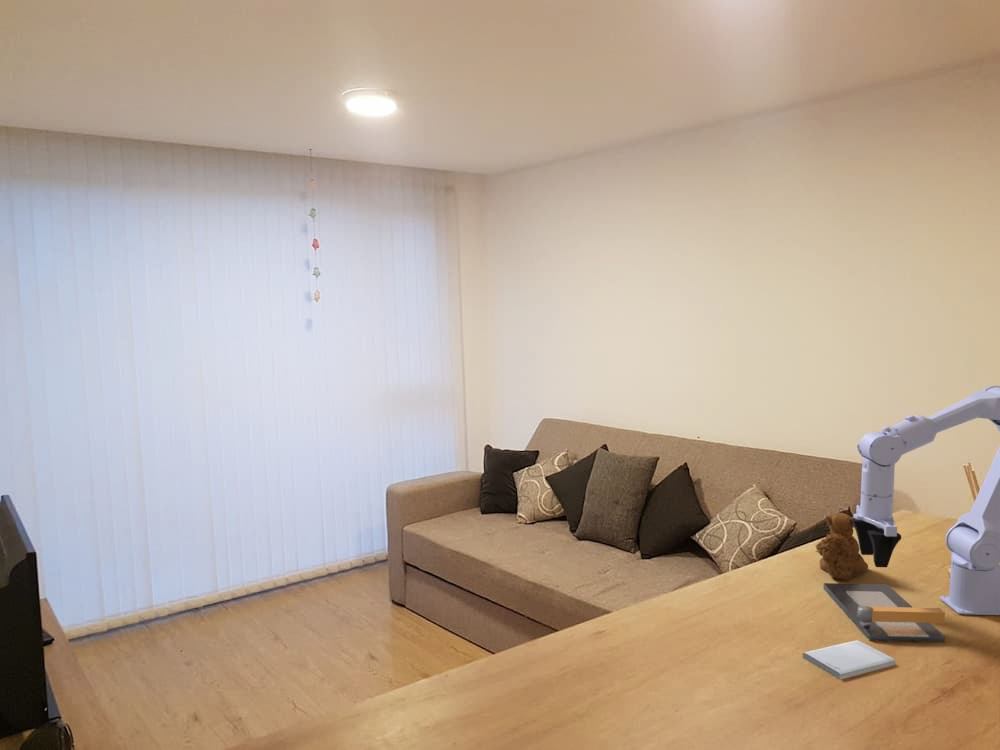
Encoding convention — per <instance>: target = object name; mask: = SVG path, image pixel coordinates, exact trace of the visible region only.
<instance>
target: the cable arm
mask: <svg viewBox="0 0 1000 750" xmlns="http://www.w3.org/2000/svg"><path fill="white" fill-rule="evenodd" d="M945 616H946V613H945V612H944V611H943V609H941V608H939V607H913V608H911V607H869V606H858V615H857V618H858V619H859V620H860V621H864V622H912V623H931V624H945Z"/></svg>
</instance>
